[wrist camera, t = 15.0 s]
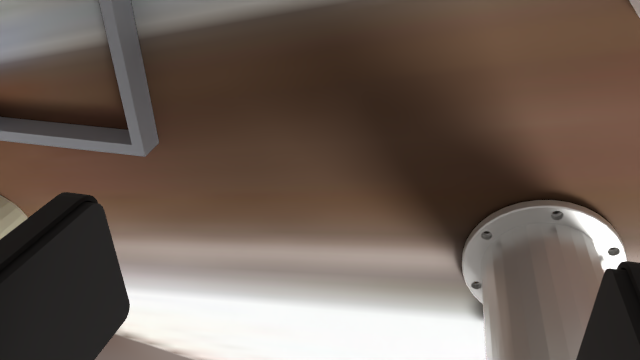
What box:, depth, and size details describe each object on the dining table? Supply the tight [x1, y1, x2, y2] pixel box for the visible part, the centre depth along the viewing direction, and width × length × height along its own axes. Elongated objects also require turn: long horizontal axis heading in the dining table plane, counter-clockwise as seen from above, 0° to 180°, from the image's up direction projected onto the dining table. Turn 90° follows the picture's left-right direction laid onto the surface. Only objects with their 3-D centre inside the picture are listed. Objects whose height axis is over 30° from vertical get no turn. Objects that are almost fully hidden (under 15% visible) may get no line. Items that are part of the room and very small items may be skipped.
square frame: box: [0, 0, 159, 157], centre depth 42 cm, size 17×17×2 cm
